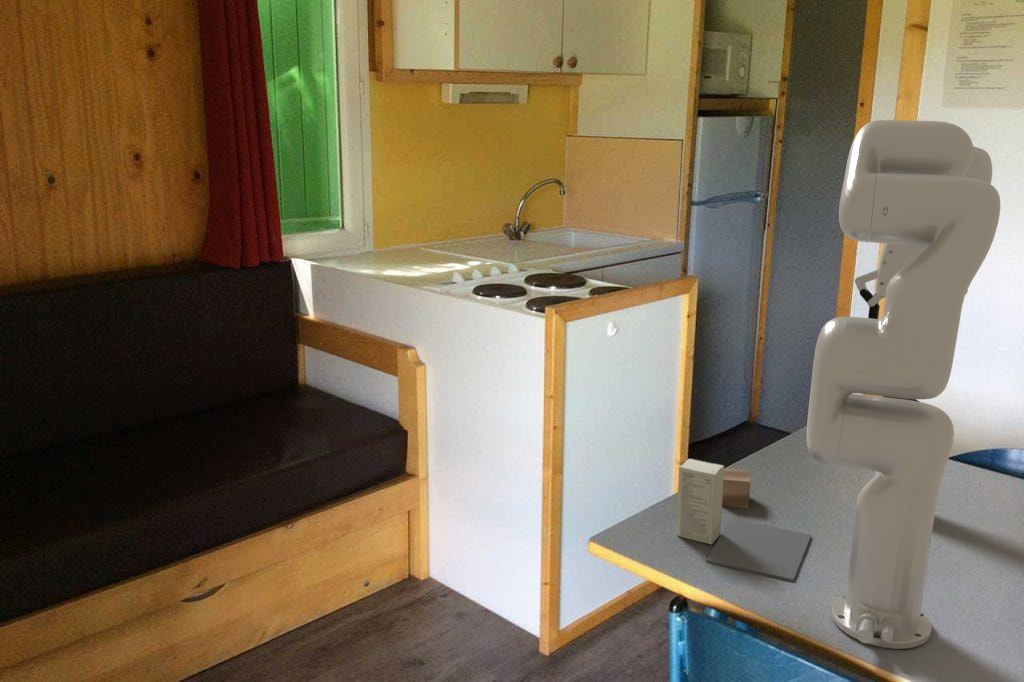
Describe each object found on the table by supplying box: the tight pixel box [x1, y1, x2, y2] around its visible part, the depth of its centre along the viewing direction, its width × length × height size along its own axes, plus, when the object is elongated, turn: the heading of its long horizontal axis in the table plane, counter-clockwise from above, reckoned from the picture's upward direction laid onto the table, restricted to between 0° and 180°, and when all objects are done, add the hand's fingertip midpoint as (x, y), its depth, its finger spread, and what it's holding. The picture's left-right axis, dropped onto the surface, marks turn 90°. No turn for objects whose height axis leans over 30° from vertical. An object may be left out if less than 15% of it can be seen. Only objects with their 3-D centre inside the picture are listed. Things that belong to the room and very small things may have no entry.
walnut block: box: [722, 468, 751, 509], centre depth 162 cm, size 5×5×5 cm
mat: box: [705, 518, 812, 583], centre depth 146 cm, size 16×13×1 cm
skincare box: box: [676, 458, 725, 545], centre depth 148 cm, size 6×4×12 cm
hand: (904, 332), depth 156 cm, fingers open, 9 cm apart
